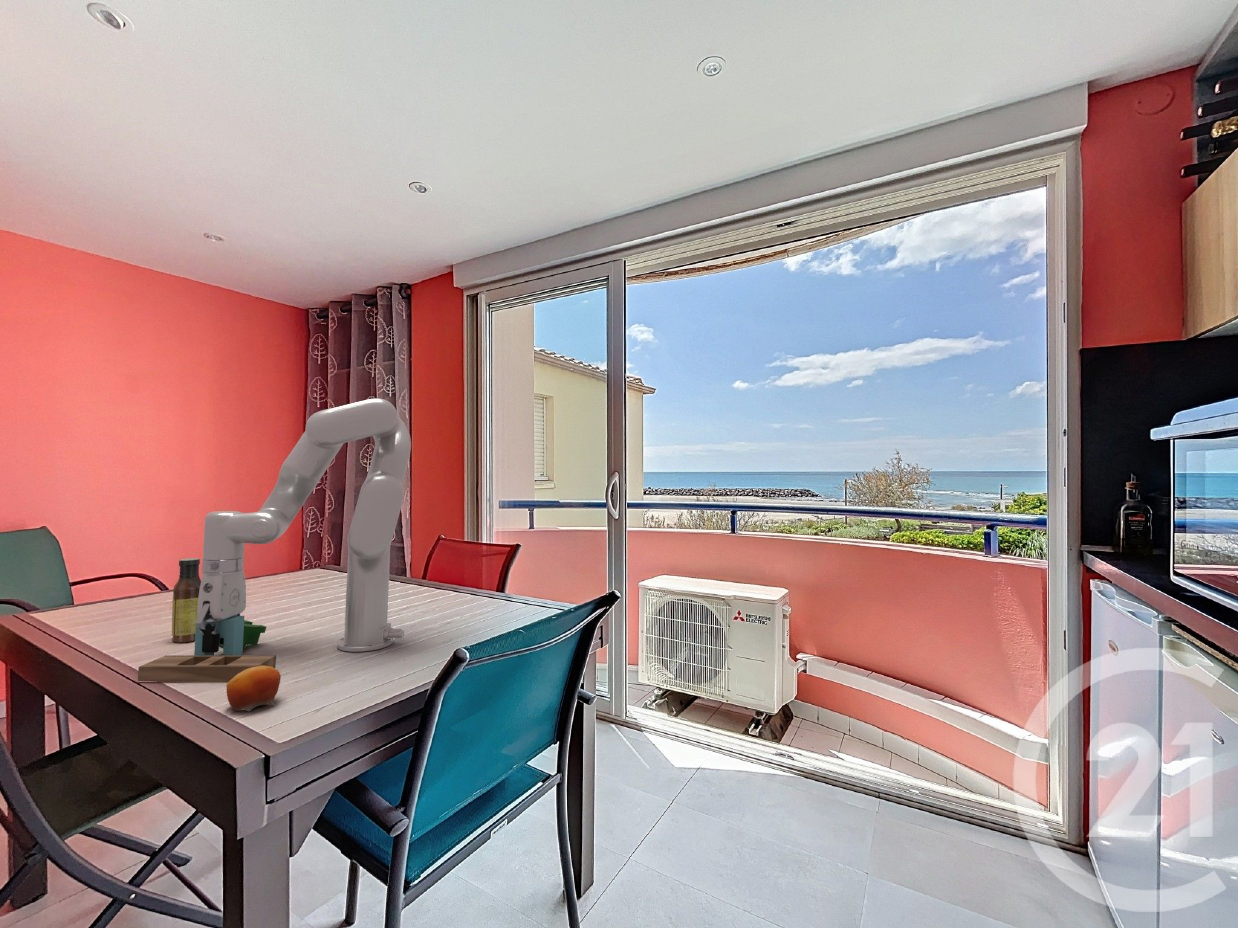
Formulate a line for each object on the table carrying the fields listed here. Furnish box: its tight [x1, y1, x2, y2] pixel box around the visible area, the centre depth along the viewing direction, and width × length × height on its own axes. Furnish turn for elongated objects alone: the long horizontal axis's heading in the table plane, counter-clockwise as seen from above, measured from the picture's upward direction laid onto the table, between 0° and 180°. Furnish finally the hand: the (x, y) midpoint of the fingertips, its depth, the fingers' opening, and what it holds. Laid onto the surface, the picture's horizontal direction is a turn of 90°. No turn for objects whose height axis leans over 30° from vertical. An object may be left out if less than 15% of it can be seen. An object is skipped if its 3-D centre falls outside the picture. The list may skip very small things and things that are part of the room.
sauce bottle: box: [171, 557, 202, 644], centre depth 133 cm, size 6×6×20 cm
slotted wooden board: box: [137, 654, 277, 683], centre depth 110 cm, size 7×22×3 cm, turn 95°
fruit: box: [225, 666, 282, 713], centre depth 96 cm, size 8×8×8 cm
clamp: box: [219, 619, 267, 651], centre depth 130 cm, size 12×6×9 cm, turn 52°
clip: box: [193, 615, 245, 655], centre depth 121 cm, size 4×8×9 cm, turn 95°
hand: (219, 647), depth 121 cm, fingers open, 5 cm apart
